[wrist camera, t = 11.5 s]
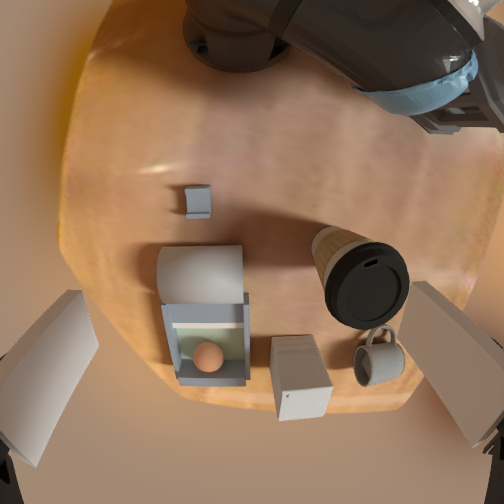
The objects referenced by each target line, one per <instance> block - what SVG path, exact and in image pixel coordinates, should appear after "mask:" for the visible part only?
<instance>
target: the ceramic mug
mask: <svg viewBox="0 0 504 504" xmlns="http://www.w3.org/2000/svg"><path fill="white" fill-rule="evenodd" d="M380 328H383V329H386V330H389V331H390V334H391V342H388V343H381V344H371V343H372V340H373V337H374V335H375V333H376V332H377V331H378V330H379V329H380ZM353 367H354V373H355V376H356V379H357V381H358V383H359V384H360V385H361V386H363V387H367V386H371V385H374V384H378V383H381V382H385V381H388V380H392V379H394V378H396V377H398V376H399V375H401V373H402V372H403V370H404V367H405V354H404V351H403V349H402V348H401V346H400V345H399V344H397V343H396V333H395V331H394V329H393V328H392V327H391V326H388V325H385V324H382V325H381V326H379V327H376V328H373V329H372V330H371V331H370V333H369V335H368V338H367V341H366V345H362V346H359V347H358V348H357V350H356V352H355V355H354V360H353Z"/></svg>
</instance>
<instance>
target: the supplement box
mask: <svg viewBox="0 0 504 504" xmlns="http://www.w3.org/2000/svg"><path fill="white" fill-rule="evenodd" d="M269 368H270V374H271V380H272V386H273V393H274V399H275V405H276V411H277V417H278V421H284V420H295V419H305V418H313V417H322V416H324V414H325V411H326V408H327V405H328V402H329V399H330V396H331V393H332V390H333V388H334V386H333V384H332V381H331V379H330V377H329V374H328V372H327V369H326V366H325V364H324V361H323V359H322V356H321V354H320V351H319V349H318V346H317V344H316V342H315V339H314V337H313V335H303V336H282V337H272V341H271V353H270V364H269Z"/></svg>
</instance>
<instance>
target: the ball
mask: <svg viewBox="0 0 504 504" xmlns="http://www.w3.org/2000/svg"><path fill="white" fill-rule="evenodd" d="M193 361H194V364H195V365H196V367H197V368H198V369H200V370H201V371H204V372H214V371H216V370H218V369H219V368H220V367H221V365H222V364H223V361H224V355H223V351H222V350H221V348H220V347H219V346H218V345H216V344H214V343H211V342H205V343H201V344H200V345H198V346H197V347H196V348H195V350H194V352H193Z"/></svg>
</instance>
